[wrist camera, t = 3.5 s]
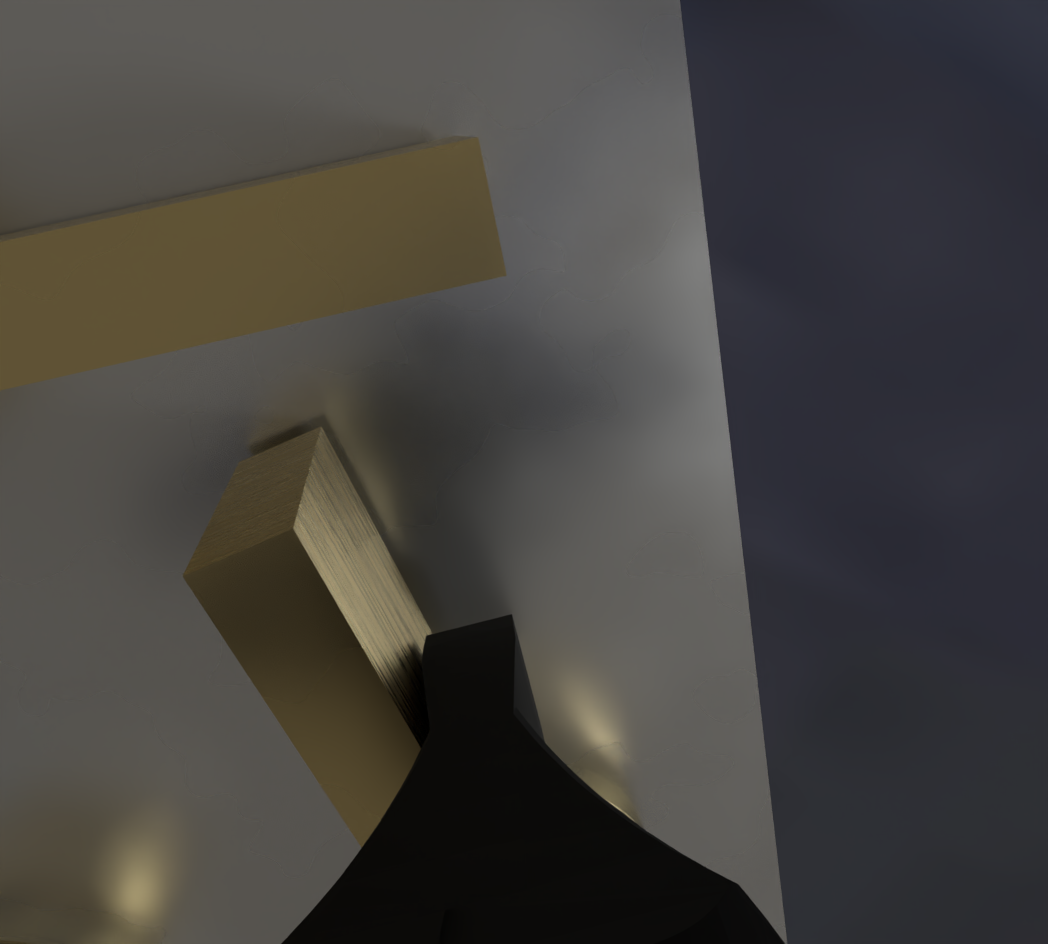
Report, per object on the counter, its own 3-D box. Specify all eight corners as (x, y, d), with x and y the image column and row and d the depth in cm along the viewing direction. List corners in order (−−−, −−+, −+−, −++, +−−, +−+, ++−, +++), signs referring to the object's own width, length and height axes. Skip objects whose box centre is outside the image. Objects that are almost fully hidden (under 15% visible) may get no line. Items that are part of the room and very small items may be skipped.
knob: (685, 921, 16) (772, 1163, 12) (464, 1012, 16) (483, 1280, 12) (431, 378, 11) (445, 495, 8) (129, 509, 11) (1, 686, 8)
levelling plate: (612, -311, 10) (823, -753, 5) (763, 895, 18) (906, 1198, 13) (-896, -16, 9) (-2424, -192, 4) (-58, 1112, 17) (-253, 1527, 12)
